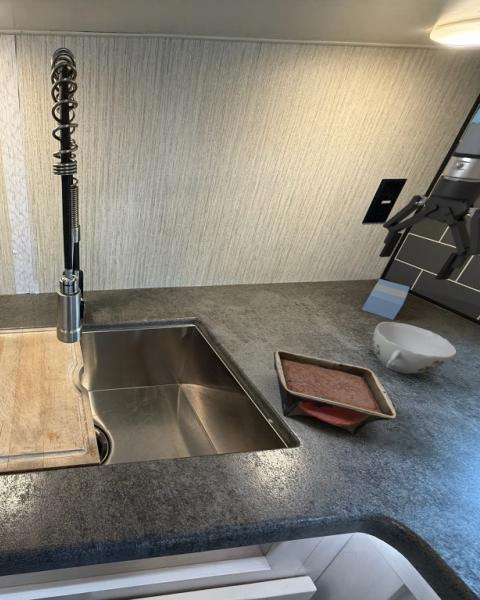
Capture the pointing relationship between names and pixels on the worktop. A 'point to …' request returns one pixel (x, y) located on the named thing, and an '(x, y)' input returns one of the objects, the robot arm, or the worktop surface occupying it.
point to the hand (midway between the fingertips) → (410, 267)
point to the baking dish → (331, 391)
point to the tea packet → (386, 299)
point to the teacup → (410, 348)
